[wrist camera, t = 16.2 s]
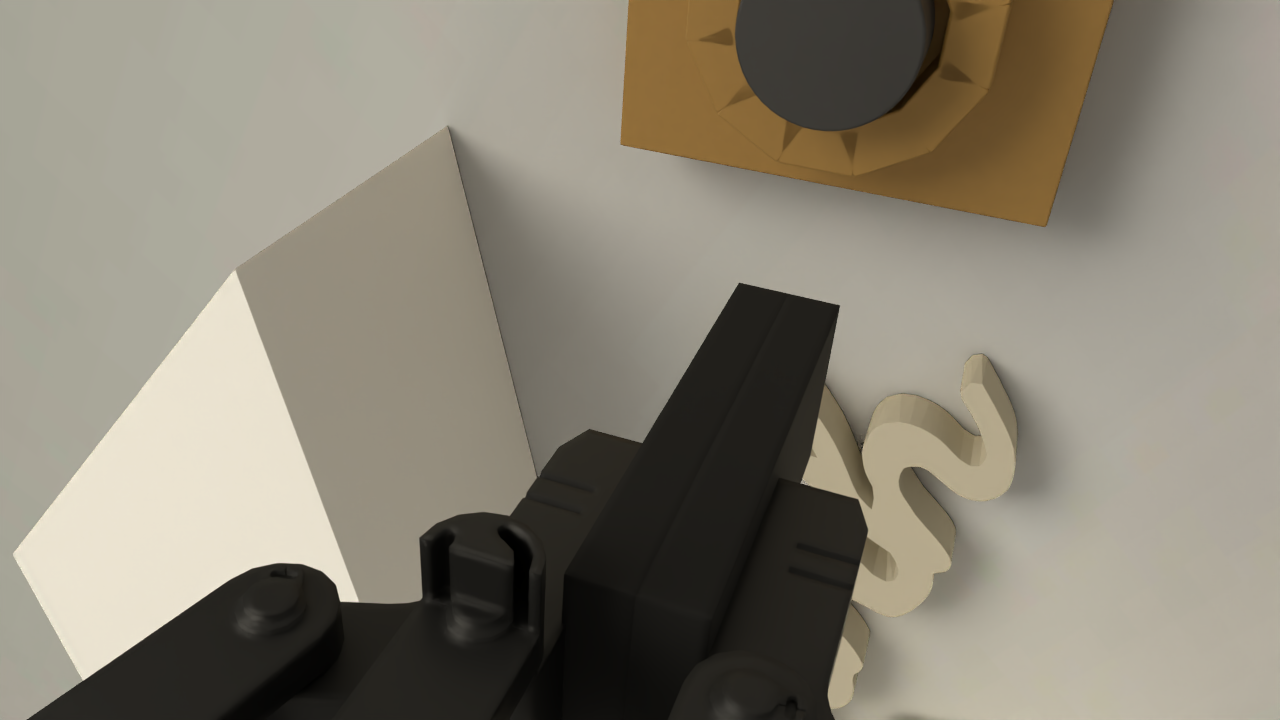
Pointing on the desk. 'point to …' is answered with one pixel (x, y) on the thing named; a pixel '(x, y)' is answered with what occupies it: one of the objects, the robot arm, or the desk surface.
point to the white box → (299, 423)
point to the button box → (908, 133)
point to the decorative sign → (909, 494)
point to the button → (832, 56)
